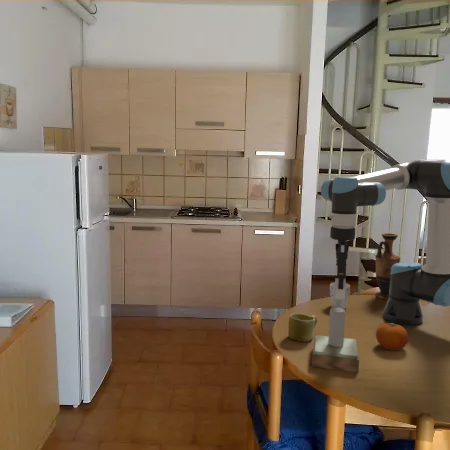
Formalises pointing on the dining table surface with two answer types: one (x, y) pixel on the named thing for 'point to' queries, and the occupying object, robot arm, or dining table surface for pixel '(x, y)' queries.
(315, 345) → the podium
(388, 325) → the fruit
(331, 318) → the beverage can
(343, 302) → the mug
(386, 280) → the vase
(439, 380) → the dining table surface
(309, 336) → the mug
